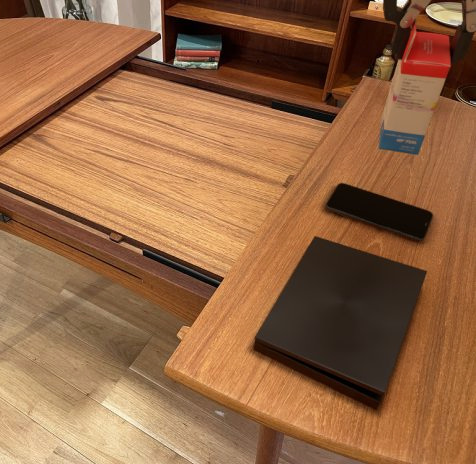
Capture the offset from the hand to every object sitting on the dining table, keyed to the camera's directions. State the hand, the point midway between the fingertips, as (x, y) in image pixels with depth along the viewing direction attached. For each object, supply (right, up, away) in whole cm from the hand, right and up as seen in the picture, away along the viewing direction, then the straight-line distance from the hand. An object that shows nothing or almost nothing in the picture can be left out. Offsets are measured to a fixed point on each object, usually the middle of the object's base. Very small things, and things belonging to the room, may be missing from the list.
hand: (424, 58), depth 58 cm
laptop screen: (-8, -29, +5) cm, 31 cm away
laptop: (-7, -31, +7) cm, 33 cm away
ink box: (0, -8, +7) cm, 11 cm away
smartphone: (+3, -17, +21) cm, 27 cm away
